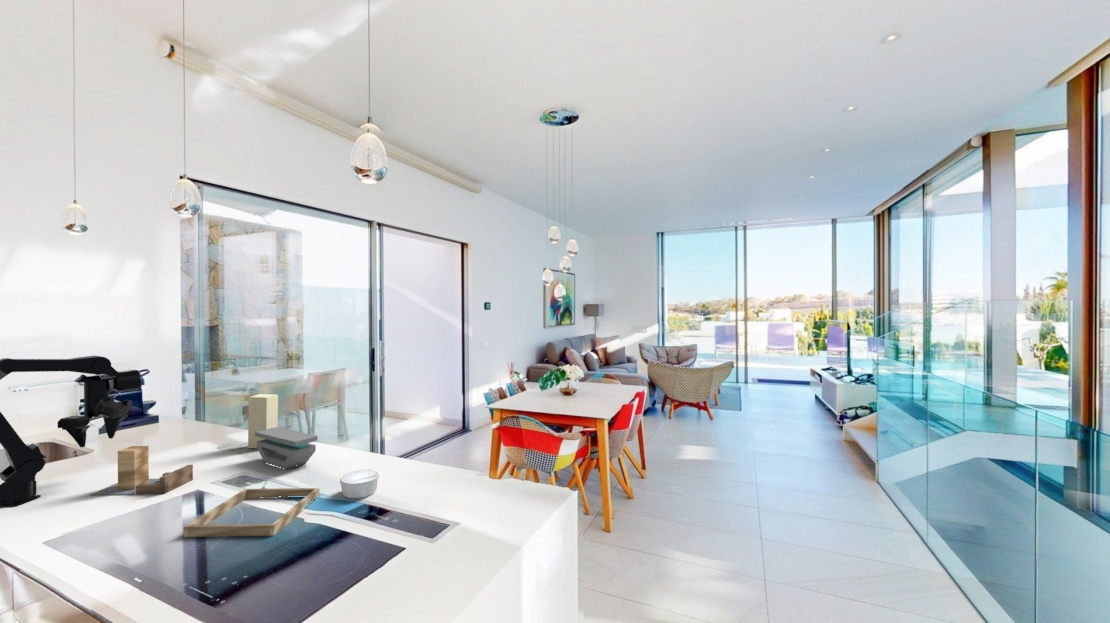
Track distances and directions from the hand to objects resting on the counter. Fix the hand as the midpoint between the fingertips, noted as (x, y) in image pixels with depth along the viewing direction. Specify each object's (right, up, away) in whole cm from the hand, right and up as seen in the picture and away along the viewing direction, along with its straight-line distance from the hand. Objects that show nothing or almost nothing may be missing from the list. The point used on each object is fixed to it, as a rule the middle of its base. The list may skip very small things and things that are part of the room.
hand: (97, 442), depth 143 cm
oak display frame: (+67, -14, -22) cm, 71 cm away
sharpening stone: (+50, -13, +18) cm, 55 cm away
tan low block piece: (+24, -13, -3) cm, 28 cm away
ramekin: (+88, -14, -7) cm, 90 cm away
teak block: (+15, -13, -3) cm, 20 cm away
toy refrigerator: (+30, -13, +37) cm, 49 cm away
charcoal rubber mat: (+14, -13, -3) cm, 19 cm away
